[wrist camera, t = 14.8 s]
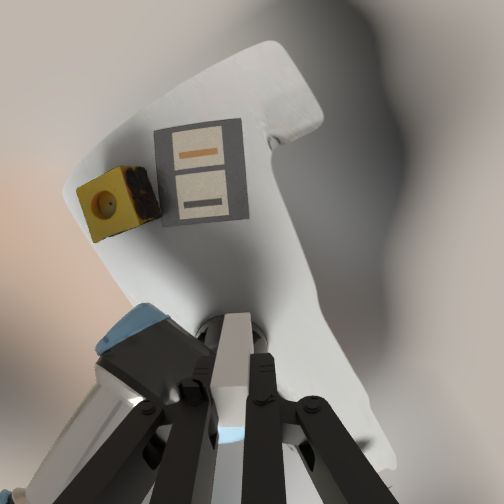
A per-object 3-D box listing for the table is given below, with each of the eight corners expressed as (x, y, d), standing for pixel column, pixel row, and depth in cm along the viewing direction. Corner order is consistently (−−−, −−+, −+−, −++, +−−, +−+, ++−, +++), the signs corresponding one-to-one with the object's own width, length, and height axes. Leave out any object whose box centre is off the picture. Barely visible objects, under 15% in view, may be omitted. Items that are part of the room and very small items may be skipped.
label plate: (249, 218, 49) (249, 218, 49) (163, 226, 50) (162, 226, 50) (240, 118, 45) (241, 118, 45) (154, 131, 45) (153, 131, 45)
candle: (163, 216, 49) (142, 226, 40) (119, 234, 50) (93, 246, 41) (146, 165, 47) (121, 163, 37) (103, 185, 48) (74, 189, 38)
